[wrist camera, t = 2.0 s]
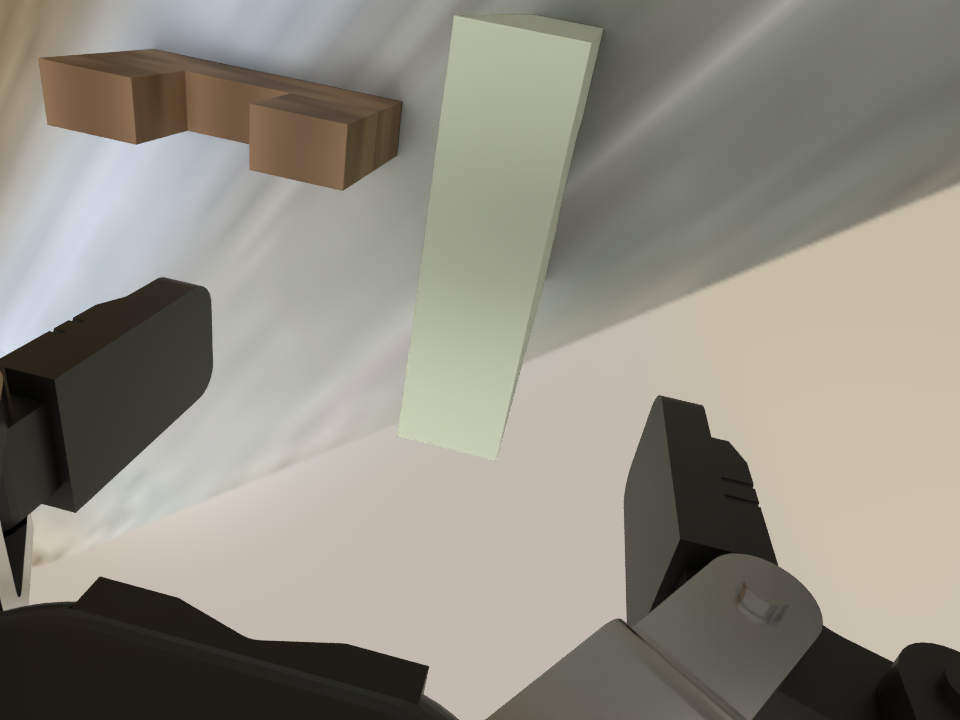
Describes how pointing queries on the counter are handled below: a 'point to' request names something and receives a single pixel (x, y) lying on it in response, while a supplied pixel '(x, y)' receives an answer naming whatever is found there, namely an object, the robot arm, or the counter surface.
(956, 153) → the counter surface
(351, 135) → the walnut u-shaped block
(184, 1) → the counter surface
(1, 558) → the robot arm
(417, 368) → the pale green plank
